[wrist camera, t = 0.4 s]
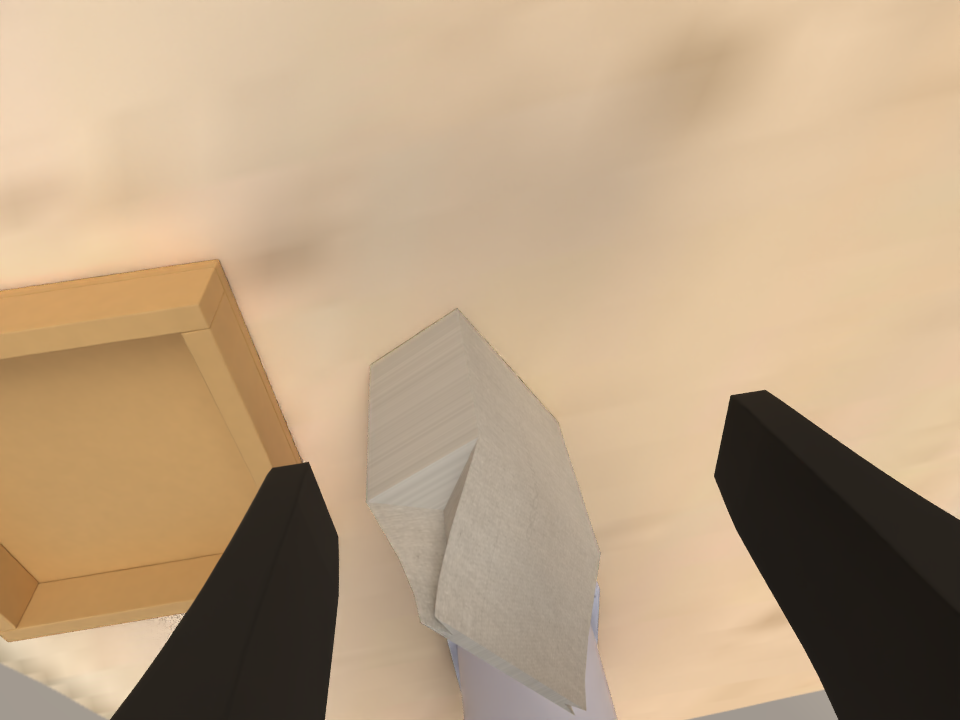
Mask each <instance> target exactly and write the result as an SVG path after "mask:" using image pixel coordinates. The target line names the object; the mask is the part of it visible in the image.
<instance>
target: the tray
mask: <svg viewBox="0 0 960 720" xmlns="http://www.w3.org/2000/svg"><path fill="white" fill-rule="evenodd" d="M299 463H302V462H301V459H300V457H299V454H298V452H297V450H296V447H295V445H294V442H293V440H292V437H291V435H290V432H289V430H288V428H287V425H286V423H285V420H284V418H283V415H282V413H281V411H280V408H279V406H278V403H277V401H276V398H275V396H274V394H273V391H272V389H271V386H270V384H269V381H268V379H267V377H266V374H265V372H264V369H263V367H262V364H261V362H260V360H259V357H258V355H257V352H256V350H255V347H254V345H253V342H252V340H251V338H250V335H249V333H248V330H247V328H246V325H245V323H244V321H243V318H242V316H241V313H240V311H239V308H238V306H237V304H236V301H235V299H234V296H233V294H232V291H231V289H230V287H229V284H228V282H227V279H226V277H225V274H224V272H223V270H222V267H221V265H220V262H219V260H210V261H203V262H196V263H189V264H182V265H175V266H169V267H162V268H155V269H148V270H141V271H134V272H127V273H121V274H114V275H107V276H100V277H93V278H86V279H79V280H73V281H66V282H59V283H52V284H45V285H38V286H32V287H25V288H18V289H11V290H4V291H0V636H1V637H2V638H4V639H5V640H6V641H7V642H13V641H19V640H25V639H31V638H37V637H43V636H49V635H55V634H61V633H67V632H74V631H80V630H86V629H92V628H98V627H104V626H110V625H116V624H122V623H128V622H134V621H140V620H146V619H152V618H158V617H164V616H170V615H176V614H182V613H186V612H187V611H188V609H189V608H190V606H191V605H192V603H193V602H194V600H195V599H196V597H197V595H198V594H199V592H200V591H201V589H202V587H203V586H204V584H205V582H206V581H207V579H208V577H209V576H210V574H211V572H212V571H213V569H214V567H215V566H216V564H217V562H218V561H219V559H220V557H221V556H222V554H223V553H224V551H225V549H226V548H227V546H228V544H229V542H230V541H231V539H232V537H233V535H234V534H235V532H236V530H237V528H238V527H239V525H240V523H241V521H242V519H243V518H244V516H245V514H246V512H247V510H248V509H249V507H250V505H251V503H252V501H253V500H254V498H255V496H256V494H257V492H258V490H259V488H260V487H261V485H262V483H263V481H264V479H265V477H266V475H267V474H268V472H269V471H270V470H271V469H272V468H274V467H280V466H287V465H293V464H299Z"/></svg>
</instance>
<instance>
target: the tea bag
mask: <svg viewBox="0 0 960 720" xmlns="http://www.w3.org/2000/svg"><path fill="white" fill-rule="evenodd" d="M366 503H367V505H368V507H369V508H370V510H371V512H372V513H373V515H374V517H375V519H376V520H377V522H378V524H379V525H380V527H381V529H382V531H383V532H384V534H385V536H386V537H387V539H388V541H389V543H390V544H391V546H392V548H393V550H394V551H395V553H396V555H397V556H398V558H399V560H400V562H401V565H402V567H403V569H404V572H405V574H406V577H407V579H408V581H409V584H410V586H411V588H412V591H413V593H414V597H415V601H416V605H417V610H418V614H419V618H420V622H421V623H422V624H423V625H425V626H427V627H428V628H430V629H432V630H433V631H435V632H437V633H438V634H440V635H442V636H443V637H445V638H447V639H448V640H450V641H452V642H453V643H455V644H457V645H458V646H460V647H462V648H463V649H465V650H467V651H468V652H470V653H472V654H473V655H475V656H477V657H478V658H480V659H482V660H483V661H485V662H487V663H488V664H490V665H492V666H493V667H495V668H497V669H498V670H500V671H502V672H503V673H505V674H507V675H508V676H510V677H512V678H513V679H515V680H517V681H518V682H520V683H522V684H523V685H525V686H527V687H528V688H530V689H532V690H533V691H535V692H537V693H538V694H540V695H541V696H543V697H545V698H546V699H548V700H550V701H551V702H553V703H555V704H556V705H558V706H560V707H561V708H563V709H565V710H566V711H568V712H570V713H571V714H573V715H575V714H574V712H573V709H572V707H571V706H573V707H576V708H579V709H582V710H585V711H586V692H585V672H586V660H587V647H588V636H589V629H590V622H591V616H592V609H593V602H594V595H595V588H596V582H597V575H598V568H599V561H600V554H601V553H600V550H599V546H598V543H597V540H596V537H595V534H594V531H593V528H592V525H591V522H590V519H589V516H588V512H587V509H586V506H585V503H584V500H583V497H582V494H581V491H580V488H579V485H578V482H577V479H576V475H575V472H574V469H573V466H572V463H571V460H570V457H569V454H568V451H567V448H566V445H565V441H564V438H563V435H562V432H561V429H560V426H559V423H558V422H557V420H556V419H555V418H554V417H553V416H552V415H551V414H550V413H549V411H548V410H547V409H546V408H545V407H544V406H543V405H542V403H541V402H540V401H539V400H538V399H537V398H536V397H535V396H534V394H533V393H532V392H531V391H530V390H529V389H528V388H527V387H526V385H525V384H524V383H523V382H522V381H521V380H520V379H519V377H518V376H517V375H516V374H515V373H514V372H513V371H512V370H511V368H510V367H509V366H508V365H507V364H506V363H505V362H504V361H503V359H502V358H501V357H500V356H499V355H498V354H497V353H496V351H495V350H494V349H493V348H492V347H491V346H490V345H489V344H488V342H487V341H486V340H485V339H484V338H483V337H482V336H481V335H480V333H479V332H478V331H477V330H476V329H475V328H474V327H473V325H472V324H471V323H470V322H469V321H468V320H467V319H466V318H465V316H464V315H463V314H462V313H461V312H460V311H459V310H458V308H457V309H455V310H454V311H452V312H451V313H449V314H448V315H446V316H444V317H443V318H441V319H440V320H438V321H437V322H435V323H434V324H432V325H431V326H429V327H428V328H426V329H425V330H423V331H422V332H420V333H419V334H417V335H415V336H414V337H412V338H411V339H409V340H408V341H406V342H405V343H403V344H402V345H400V346H399V347H397V348H396V349H394V350H393V351H391V352H390V353H388V354H387V355H385V356H383V357H382V358H380V359H379V360H377V361H376V362H374V363H373V364H371V365H370V383H369V416H368V448H367V481H366Z"/></svg>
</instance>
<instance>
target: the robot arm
mask: <svg viewBox="0 0 960 720" xmlns="http://www.w3.org/2000/svg"><path fill="white" fill-rule="evenodd" d="M714 477H715V480H716V482H717V485H718V487H719V490H720V492H721V495H722V497H723V500H724V502H725V505H726V507H727V509H728V512H729V514H730V516H731V519H732V521H733V523H734V526H735V528H736V530H737V532H738V534H739V536H740V537H741V539H742V541H743V543H744V545H745V546H746V548H747V550H748V552H749V553H750V555H751V557H752V559H753V561H754V562H755V564H756V566H757V568H758V569H759V571H760V573H761V575H762V576H763V578H764V580H765V582H766V583H767V585H768V587H769V589H770V590H771V592H772V594H773V595H774V597H775V599H776V601H777V602H778V604H779V606H780V608H781V609H782V611H783V613H784V615H785V616H786V618H787V620H788V622H789V623H790V625H791V627H792V629H793V630H794V632H795V634H796V635H797V637H798V639H799V641H800V642H801V644H802V646H803V648H804V649H805V651H806V653H807V655H808V657H809V659H810V661H811V663H812V665H813V667H814V668H815V670H816V672H817V674H818V676H819V678H820V680H821V682H822V685H823V687H824V689H825V691H826V693H827V696H828V698H829V700H830V702H831V704H832V706H833V709H834V711H835V713H836V715H837V717H838V720H960V520H959V519H957V518H955V517H954V516H952V515H951V514H949V513H947V512H946V511H944V510H942V509H941V508H939V507H937V506H936V505H934V504H933V503H931V502H929V501H928V500H926V499H924V498H923V497H921V496H920V495H918V494H917V493H915V492H913V491H912V490H910V489H909V488H907V487H906V486H904V485H903V484H901V483H899V482H898V481H896V480H895V479H893V478H892V477H890V476H889V475H887V474H886V473H884V472H883V471H881V470H880V469H878V468H877V467H875V466H874V465H872V464H871V463H869V462H868V461H867V460H865V459H864V458H862V457H861V456H859V455H858V454H856V453H855V452H853V451H852V450H851V449H849V448H848V447H846V446H845V445H843V444H842V443H840V442H839V441H838V440H836V439H835V438H833V437H832V436H831V435H829V434H828V433H826V432H825V431H823V430H822V429H821V428H819V427H818V426H816V425H815V424H814V423H812V422H811V421H809V420H808V419H807V418H805V417H804V416H802V415H801V414H800V413H798V412H797V411H795V410H794V409H792V408H791V407H790V406H788V405H787V404H785V403H784V402H782V401H781V400H780V399H778V398H777V397H775V396H774V395H772V394H771V393H769V392H768V391H766V390H762V391H756V392H749V393H743V394H737V395H731V396H730V401H729V406H728V411H727V415H726V420H725V425H724V430H723V435H722V440H721V445H720V449H719V454H718V459H717V464H716V469H715V474H714ZM338 597H339V544H338V535H337V532H336V530H335V527H334V525H333V522H332V520H331V517H330V515H329V512H328V509H327V507H326V504H325V502H324V499H323V497H322V494H321V492H320V489H319V487H318V484H317V482H316V479H315V477H314V474H313V472H312V469H311V466H310V464H309V462H306V463H299V464H293V465H287V466H280V467H274V468H272V469H271V470H270V471H269V472H268V474H267V475H266V477H265V479H264V481H263V483H262V485H261V487H260V488H259V490H258V492H257V494H256V496H255V498H254V500H253V501H252V503H251V505H250V507H249V509H248V510H247V512H246V514H245V516H244V518H243V519H242V521H241V523H240V525H239V527H238V528H237V530H236V532H235V534H234V535H233V537H232V539H231V541H230V542H229V544H228V546H227V548H226V549H225V551H224V553H223V554H222V556H221V557H220V559H219V561H218V562H217V564H216V566H215V567H214V569H213V571H212V572H211V574H210V576H209V577H208V579H207V581H206V582H205V584H204V586H203V587H202V589H201V591H200V592H199V594H198V595H197V597H196V599H195V600H194V602H193V603H192V605H191V606H190V608H189V609H188V611H187V612H186V614H185V615H184V617H183V618H182V620H181V621H180V623H179V624H178V626H177V627H176V629H175V630H174V632H173V633H172V635H171V636H170V638H169V639H168V641H167V642H166V644H165V645H164V647H163V648H162V650H161V651H160V653H159V654H158V655H157V657H156V658H155V660H154V661H153V663H152V664H151V665H150V667H149V668H148V670H147V671H146V672H145V674H144V675H143V677H142V678H141V679H140V681H139V682H138V683H137V685H136V686H135V687H134V689H133V690H132V692H131V693H130V694H129V695H128V697H127V698H126V699H125V701H124V702H123V703H122V705H121V706H120V707H119V709H118V710H117V711H116V713H115V714H114V715H113V716H112V718H111V719H110V720H325V713H326V705H327V696H328V687H329V678H330V670H331V661H332V652H333V644H334V634H335V625H336V616H337V607H338ZM599 597H600V588H599V585H598V582H596V588H595V595H594V602H593V609H592V616H591V622H590V629H589V636H588V647H587V660H586V672H585V692H586V711H585V710H582V709H579V708H576V707H573V706H571V707H572V709H573V712H574V714H575V715H573V714H571V713H570V712H568V711H566V710H565V709H563V708H561V707H560V706H558V705H556V704H555V703H553V702H551V701H550V700H548V699H546V698H545V697H543V696H541V695H540V694H538V693H537V692H535V691H533V690H532V689H530V688H528V687H527V686H525V685H523V684H522V683H520V682H518V681H517V680H515V679H513V678H512V677H510V676H508V675H507V674H505V673H503V672H502V671H500V670H498V669H497V668H495V667H493V666H492V665H490V664H488V663H487V662H485V661H483V660H482V659H480V658H478V657H477V656H475V655H473V654H472V653H470V652H468V651H467V650H465V649H463V648H462V647H460V646H458V645H457V644H455V643H453V642H452V641H450V640H448V639H447V642H448V646H449V649H450V653H451V657H452V661H453V665H454V668H455V672H456V676H457V680H458V683H459V687H460V691H461V695H462V705H463V716H464V720H618V719H617V715H616V712H615V708H614V705H613V701H612V697H611V694H610V690H609V687H608V683H607V680H606V676H605V672H604V669H603V665H602V662H601V658H600V655H599V651H598V647H597V644H598V620H599Z"/></svg>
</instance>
